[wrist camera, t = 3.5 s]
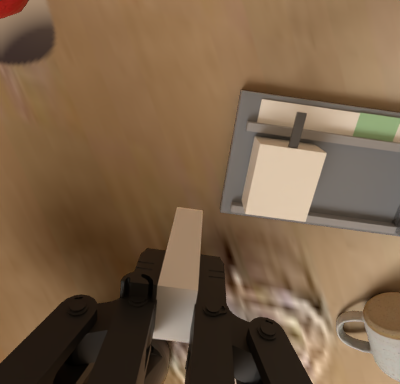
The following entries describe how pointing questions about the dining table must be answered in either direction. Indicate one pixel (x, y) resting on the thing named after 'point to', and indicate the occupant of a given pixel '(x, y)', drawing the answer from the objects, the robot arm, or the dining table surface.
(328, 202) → the gauge bed
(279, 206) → the beige block with rod
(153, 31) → the dining table surface
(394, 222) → the grey flat slab
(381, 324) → the ceramic mug
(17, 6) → the red carved pumpkin
